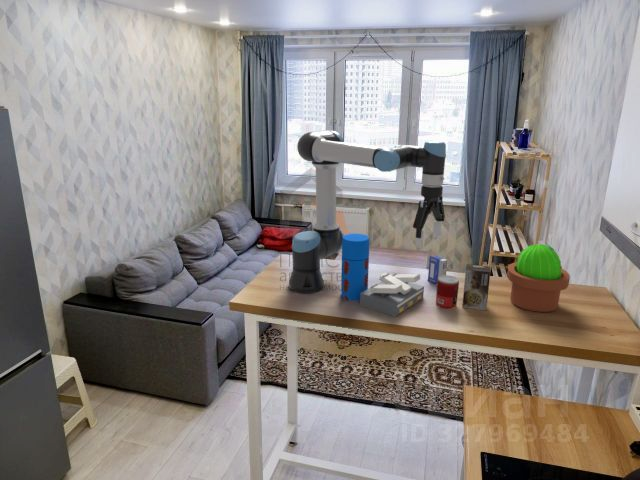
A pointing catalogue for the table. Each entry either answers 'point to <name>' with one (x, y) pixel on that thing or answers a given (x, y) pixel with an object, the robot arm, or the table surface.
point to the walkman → (436, 268)
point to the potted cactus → (537, 279)
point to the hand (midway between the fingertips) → (427, 241)
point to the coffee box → (476, 287)
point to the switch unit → (392, 299)
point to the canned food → (447, 291)
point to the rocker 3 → (407, 277)
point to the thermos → (354, 265)
